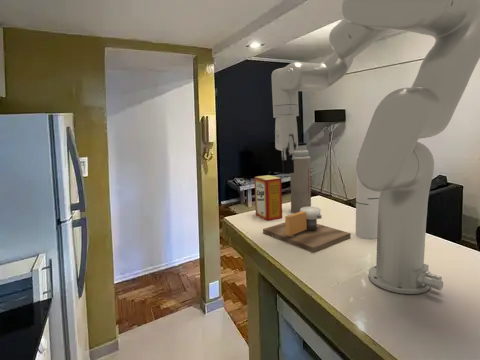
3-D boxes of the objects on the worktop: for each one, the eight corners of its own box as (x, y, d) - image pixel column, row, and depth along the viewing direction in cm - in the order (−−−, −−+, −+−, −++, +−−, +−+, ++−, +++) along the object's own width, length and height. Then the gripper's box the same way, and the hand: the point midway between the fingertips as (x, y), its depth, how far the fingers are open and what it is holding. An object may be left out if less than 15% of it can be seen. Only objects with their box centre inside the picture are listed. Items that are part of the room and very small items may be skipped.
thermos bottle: (313, 210, 132) (313, 141, 127) (307, 215, 125) (306, 143, 120) (295, 208, 136) (294, 142, 131) (288, 213, 130) (286, 143, 125)
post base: (350, 237, 100) (350, 220, 99) (314, 252, 90) (313, 234, 89) (298, 222, 117) (298, 207, 116) (263, 233, 108) (262, 217, 107)
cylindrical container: (382, 239, 98) (384, 157, 93) (357, 238, 99) (359, 158, 94) (376, 231, 104) (379, 154, 100) (353, 230, 106) (355, 155, 101)
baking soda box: (255, 215, 129) (254, 175, 126) (269, 212, 132) (268, 174, 129) (267, 221, 120) (266, 179, 118) (282, 218, 123) (281, 177, 120)
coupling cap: (306, 221, 110) (306, 205, 109) (326, 227, 104) (326, 209, 102) (277, 232, 101) (277, 214, 100) (297, 238, 95) (297, 219, 94)
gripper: (268, 114, 102) (271, 171, 105) (279, 111, 88) (282, 177, 90) (291, 112, 103) (293, 169, 106) (305, 109, 88) (307, 175, 91)
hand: (288, 172), depth 98 cm, fingers closed
